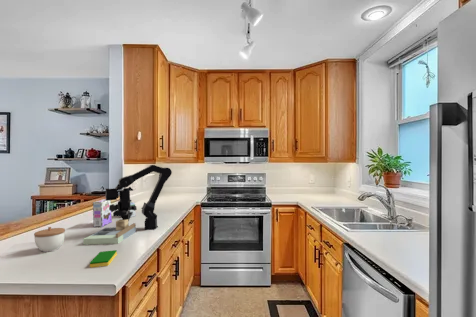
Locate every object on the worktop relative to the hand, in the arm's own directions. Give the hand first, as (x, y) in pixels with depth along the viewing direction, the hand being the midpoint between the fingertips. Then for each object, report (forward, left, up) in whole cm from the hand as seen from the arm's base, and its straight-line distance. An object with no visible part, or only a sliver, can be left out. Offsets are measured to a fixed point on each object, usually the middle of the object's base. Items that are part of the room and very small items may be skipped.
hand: (126, 225), depth 168 cm
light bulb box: (+19, -47, -4) cm, 51 cm away
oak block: (0, +5, -1) cm, 5 cm away
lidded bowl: (+25, +29, -4) cm, 39 cm away
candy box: (+25, -22, -4) cm, 34 cm away
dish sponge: (-11, +47, -5) cm, 48 cm away
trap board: (+3, +11, -4) cm, 13 cm away
